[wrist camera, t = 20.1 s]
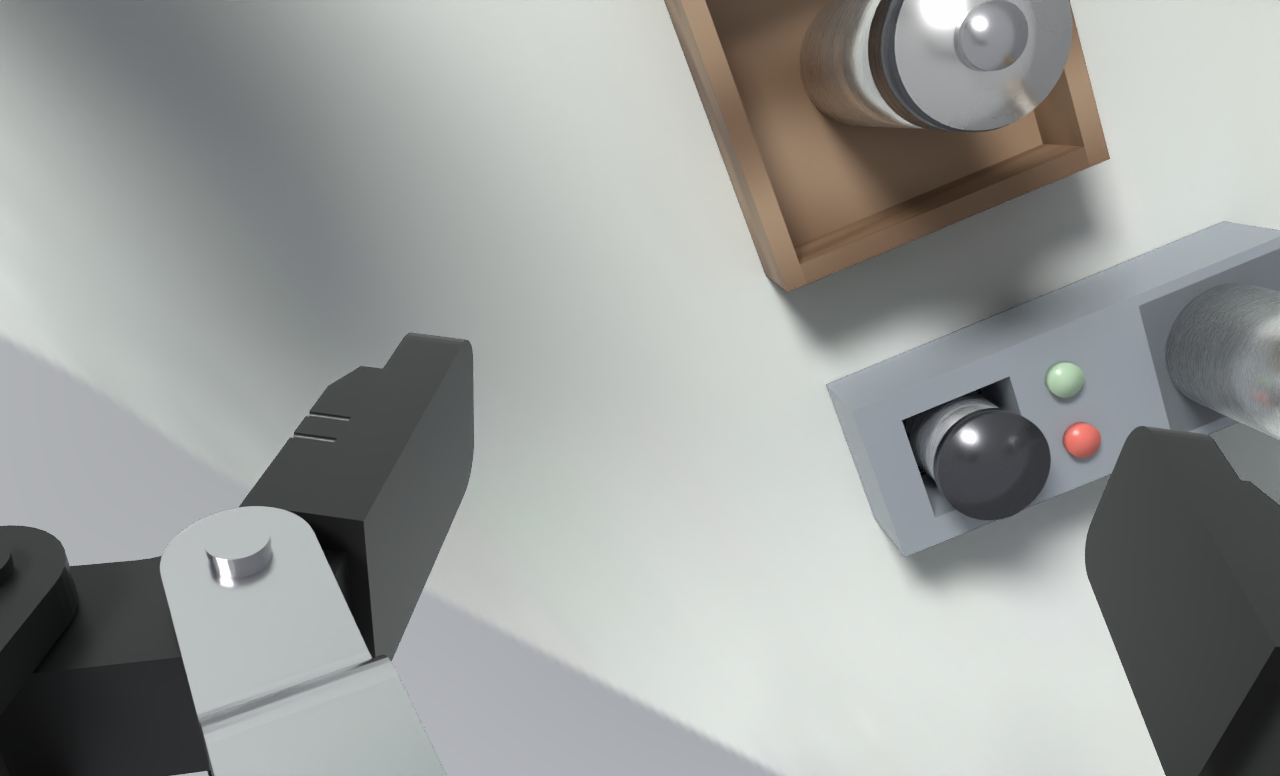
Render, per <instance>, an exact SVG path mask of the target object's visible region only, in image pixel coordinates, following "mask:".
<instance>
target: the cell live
mask: <svg viewBox="0 0 1280 776" xmlns="http://www.w3.org/2000/svg"><path fill="white" fill-rule="evenodd" d="M1165 363H1166V368H1167V372H1168V375H1169V377H1170V379H1171V381H1172V383H1173V384H1174V386H1175V387H1176V389H1177V390H1178V391H1179V392H1180V393H1181V394H1183V395H1184V396H1185V397H1187V398H1188V399H1190V400H1192V401H1194V402H1196V403H1198V404H1201V405H1203V406H1205V407H1207V408H1209V409H1212V410H1214V411H1216V412H1218V413H1221V414H1223V415H1225V416H1227V417H1229V418H1232V419H1234V420H1236V421H1238V422H1240V423H1243V424H1245V425H1247V426H1249V427H1251V428H1254V429H1256V430H1258V431H1260V432H1262V433H1265V434H1267V435H1269V436H1271V437H1273V438H1276V439H1278V440H1280V292H1279V291H1275V290H1271V289H1267V288H1263V287H1259V286H1255V285H1251V284H1246V283H1227V284H1222V285H1219V286H1216V287H1213V288H1210V289H1208V290H1206V291H1204V292H1203V293H1201V294H1200V295H1198V296H1197V297H1195V298H1194V299H1193V300H1192V301H1190V302H1189V303H1188V304H1187V305H1186V306H1185V307H1184V308H1183V310H1182V311H1181V312H1180V313H1179V315H1178V316H1177V318H1176V320H1175V321H1174V323H1173V325H1172V327H1171V329H1170V332H1169V335H1168V338H1167V342H1166V348H1165Z"/></svg>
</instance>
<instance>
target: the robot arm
mask: <svg viewBox="0 0 1280 776" xmlns="http://www.w3.org/2000/svg"><path fill="white" fill-rule="evenodd" d="M473 450H474V415H473V353H472V347H471V344H470V342H469V341H468V340H463V339H456V338H448V337H440V336H432V335H425V334H417V333H408V334H407V335H406V336H405V337H404V338H403V340H402V341H401V343H400V344H399V346H398V347H397V349H396V350H395V352H394V353H393V355H392V356H391V358H390V359H389V361H388V362H387V364H386V365H385V367H384V368H383V369H379V368H371V367H364V366H361V367H359V368H357V369H356V370H354V371H352V372H351V373H349V374H347V375H346V376H344V377H342V378H341V379H339V380H337V381H336V382H334V383H332V384H331V385H329V386H328V387H327V388H326V390H325V391H324V393H323V394H322V395H321V397H320V398H319V399H318V401H317V402H316V403H315V405H314V406H313V407H312V409H311V410H310V414H309V417H307V416H306V417H305V418H304V420H303V421H302V422H301V424H300V425H299V426H298V428H297V429H296V430H295V432H294V437H293V438H290V439H289V440H288V441H287V443H286V444H285V445H284V447H283V448H282V449H281V451H280V452H279V453H278V455H277V456H276V458H275V459H274V460H273V462H272V463H271V464H270V466H269V467H268V468H267V470H266V471H265V472H264V474H263V475H262V476H261V478H260V479H259V481H258V482H257V483H256V485H255V486H254V487H253V489H252V490H251V491H250V493H249V494H248V495H247V497H246V498H245V499H244V501H243V502H242V504H241V505H240V506H239V507H238V508H233V509H228V510H224V511H220V512H218V513H214V514H211V515H209V516H207V517H204V518H202V519H200V520H198V521H196V522H194V523H192V524H191V525H189V526H188V527H186V528H185V529H183V530H182V531H181V532H179V533H178V534H177V535H176V536H175V537H174V538H173V539H172V540H171V542H170V543H169V544H168V546H167V547H166V548H165V550H164V553H163V555H162V556H160V557H155V558H151V559H143V560H137V561H126V562H114V563H103V564H92V565H81V566H69V563H68V560H67V556H66V553H65V550H64V548H63V546H62V544H61V542H60V541H59V540H58V539H56V538H55V537H54V536H53V535H51V534H49V533H47V532H46V531H43V530H39V529H37V528H32V527H25V526H0V776H171V775H179V774H186V773H193V772H200V771H208V775H209V776H447V775H446V773H445V771H444V768H443V766H442V764H441V762H440V760H439V758H438V756H437V754H436V752H435V749H434V747H433V745H432V743H431V741H430V739H429V737H428V735H427V733H426V731H425V729H424V726H423V725H422V722H421V720H420V718H419V716H418V714H417V712H416V710H415V708H414V706H413V704H412V702H411V699H410V697H409V695H408V693H407V691H406V689H405V687H404V685H403V683H402V680H401V678H400V676H399V674H398V672H397V670H396V668H395V667H394V665H393V663H392V662H391V661H392V659H393V657H394V654H395V652H396V650H397V647H398V645H399V643H400V641H401V638H402V636H403V634H404V631H405V629H406V627H407V624H408V622H409V620H410V618H411V615H412V613H413V611H414V608H415V606H416V604H417V601H418V599H419V597H420V595H421V592H422V590H423V588H424V586H425V583H426V581H427V579H428V576H429V574H430V572H431V570H432V567H433V565H434V563H435V560H436V558H437V556H438V553H439V551H440V549H441V547H442V544H443V542H444V540H445V537H446V535H447V533H448V531H449V528H450V526H451V524H452V521H453V519H454V517H455V514H456V512H457V510H458V508H459V505H460V503H461V501H462V498H463V496H464V494H465V491H466V488H467V485H468V481H469V477H470V473H471V467H472V460H473ZM1085 564H1086V571H1087V575H1088V578H1089V581H1090V584H1091V586H1092V589H1093V591H1094V594H1095V596H1096V599H1097V602H1098V604H1099V607H1100V609H1101V612H1102V614H1103V617H1104V619H1105V622H1106V625H1107V627H1108V630H1109V632H1110V635H1111V637H1112V640H1113V642H1114V645H1115V647H1116V650H1117V653H1118V655H1119V658H1120V660H1121V663H1122V665H1123V668H1124V670H1125V673H1126V676H1127V678H1128V681H1129V683H1130V686H1131V688H1132V691H1133V693H1134V696H1135V698H1136V701H1137V704H1138V706H1139V709H1140V711H1141V714H1142V716H1143V719H1144V721H1145V724H1146V726H1147V729H1148V732H1149V734H1150V737H1151V739H1152V742H1153V744H1154V747H1155V749H1156V752H1157V755H1158V757H1159V760H1160V762H1161V765H1162V767H1163V770H1164V772H1165V775H1166V776H1280V505H1279V504H1277V503H1276V502H1275V501H1274V500H1272V499H1271V498H1270V497H1269V496H1267V495H1266V494H1265V493H1264V492H1262V491H1261V490H1260V489H1259V488H1257V487H1256V486H1255V485H1254V484H1252V483H1251V482H1249V481H1242V480H1240V479H1239V477H1238V476H1237V474H1236V473H1235V471H1234V470H1233V468H1232V467H1231V465H1230V464H1229V462H1228V461H1227V459H1226V458H1225V456H1224V455H1223V453H1222V452H1221V450H1220V449H1219V447H1218V446H1217V444H1216V442H1215V441H1214V440H1213V439H1212V438H1211V437H1210V436H1209V435H1206V434H1201V433H1194V432H1186V431H1178V430H1171V429H1163V428H1155V427H1147V426H1139V427H1136V428H1135V429H1134V430H1133V431H1132V432H1131V433H1130V434H1129V436H1128V437H1127V439H1126V441H1125V443H1124V445H1123V447H1122V450H1121V452H1120V455H1119V457H1118V459H1117V462H1116V464H1115V467H1114V469H1113V471H1112V474H1111V476H1110V479H1109V481H1108V483H1107V486H1106V488H1105V490H1104V493H1103V495H1102V498H1101V500H1100V502H1099V505H1098V507H1097V510H1096V512H1095V514H1094V517H1093V519H1092V522H1091V524H1090V527H1089V530H1088V534H1087V539H1086V547H1085Z"/></svg>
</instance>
